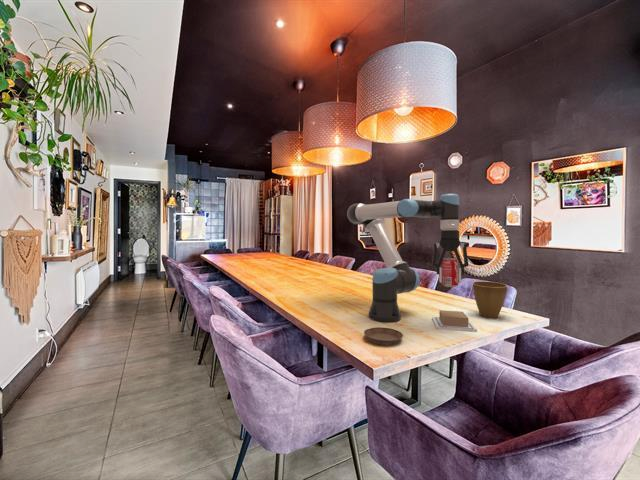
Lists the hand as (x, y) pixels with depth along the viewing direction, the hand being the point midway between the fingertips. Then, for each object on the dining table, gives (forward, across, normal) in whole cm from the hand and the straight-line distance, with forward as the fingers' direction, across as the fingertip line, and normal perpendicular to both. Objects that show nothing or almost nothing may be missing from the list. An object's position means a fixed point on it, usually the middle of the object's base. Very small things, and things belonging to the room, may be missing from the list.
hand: (449, 282), depth 129 cm
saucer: (+20, -27, -24) cm, 41 cm away
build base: (+20, +2, +3) cm, 20 cm away
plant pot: (+20, +20, +23) cm, 37 cm away
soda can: (+2, 0, 0) cm, 2 cm away
